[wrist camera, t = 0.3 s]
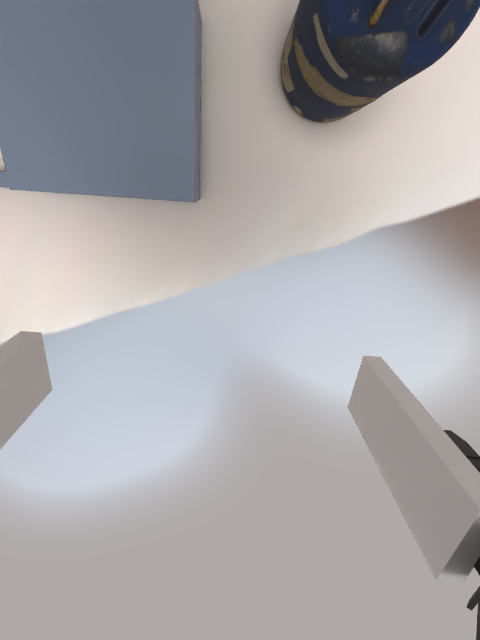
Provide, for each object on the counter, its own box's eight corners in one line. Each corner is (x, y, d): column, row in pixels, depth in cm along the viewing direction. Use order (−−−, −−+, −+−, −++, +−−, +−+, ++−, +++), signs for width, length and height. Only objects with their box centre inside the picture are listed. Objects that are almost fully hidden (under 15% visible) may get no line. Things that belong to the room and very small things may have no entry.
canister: (388, 78, 31) (562, -37, 15) (312, 146, 34) (390, 111, 17) (338, -20, 28) (489, -305, 12) (258, 62, 30) (290, -79, 14)
